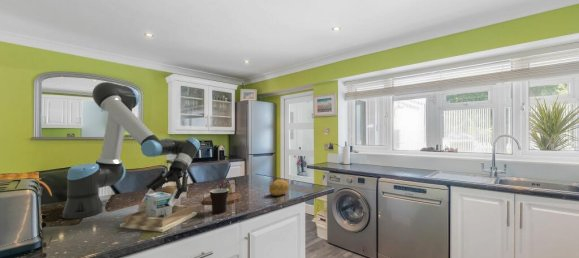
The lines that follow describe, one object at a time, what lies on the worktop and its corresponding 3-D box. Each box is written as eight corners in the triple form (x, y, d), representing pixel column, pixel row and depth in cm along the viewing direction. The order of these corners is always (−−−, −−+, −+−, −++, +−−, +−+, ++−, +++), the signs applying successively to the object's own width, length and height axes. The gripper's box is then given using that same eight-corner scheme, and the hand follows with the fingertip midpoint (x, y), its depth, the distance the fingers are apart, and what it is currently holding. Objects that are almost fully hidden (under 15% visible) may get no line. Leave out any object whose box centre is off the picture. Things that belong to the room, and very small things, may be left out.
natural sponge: (158, 207, 131) (158, 187, 131) (159, 202, 139) (159, 184, 140) (177, 205, 135) (177, 186, 135) (178, 201, 143) (177, 183, 143)
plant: (245, 196, 153) (245, 177, 153) (234, 205, 133) (234, 184, 134) (213, 196, 155) (213, 177, 155) (198, 205, 136) (198, 184, 136)
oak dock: (120, 227, 103) (120, 216, 103) (159, 211, 124) (159, 202, 124) (162, 231, 98) (162, 220, 98) (196, 214, 118) (196, 205, 118)
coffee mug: (223, 214, 118) (223, 193, 118) (206, 213, 119) (206, 192, 119) (234, 207, 129) (233, 187, 129) (218, 206, 131) (218, 187, 131)
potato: (265, 179, 154) (273, 180, 147) (282, 178, 162) (291, 178, 155) (265, 195, 153) (274, 197, 146) (283, 193, 161) (292, 194, 154)
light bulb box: (172, 219, 109) (172, 193, 109) (156, 223, 104) (156, 196, 104) (160, 214, 115) (160, 190, 116) (144, 218, 110) (144, 193, 110)
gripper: (206, 170, 122) (185, 210, 108) (163, 168, 129) (138, 206, 114) (199, 160, 117) (177, 201, 103) (155, 159, 124) (128, 197, 109)
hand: (156, 204), depth 109 cm, fingers open, 13 cm apart
